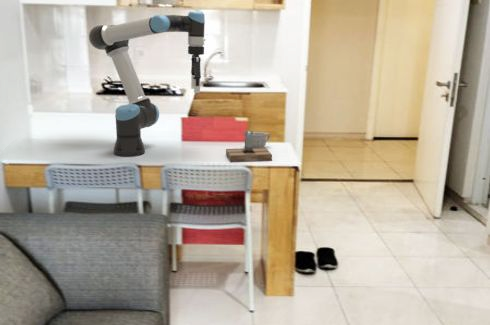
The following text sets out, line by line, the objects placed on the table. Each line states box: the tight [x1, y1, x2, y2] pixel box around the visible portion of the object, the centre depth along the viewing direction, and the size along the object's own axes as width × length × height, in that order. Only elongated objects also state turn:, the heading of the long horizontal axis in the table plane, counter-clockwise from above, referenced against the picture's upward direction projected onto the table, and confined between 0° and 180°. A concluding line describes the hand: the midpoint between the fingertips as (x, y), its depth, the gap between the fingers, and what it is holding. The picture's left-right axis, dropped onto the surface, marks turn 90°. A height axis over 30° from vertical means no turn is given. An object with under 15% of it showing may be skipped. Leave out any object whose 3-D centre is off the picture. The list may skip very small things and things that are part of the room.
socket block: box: [225, 147, 273, 163], centre depth 257 cm, size 14×20×3 cm
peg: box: [244, 130, 254, 153], centre depth 256 cm, size 4×4×13 cm
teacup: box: [253, 131, 271, 148], centre depth 276 cm, size 14×11×8 cm
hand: (195, 90), depth 255 cm, fingers open, 13 cm apart
